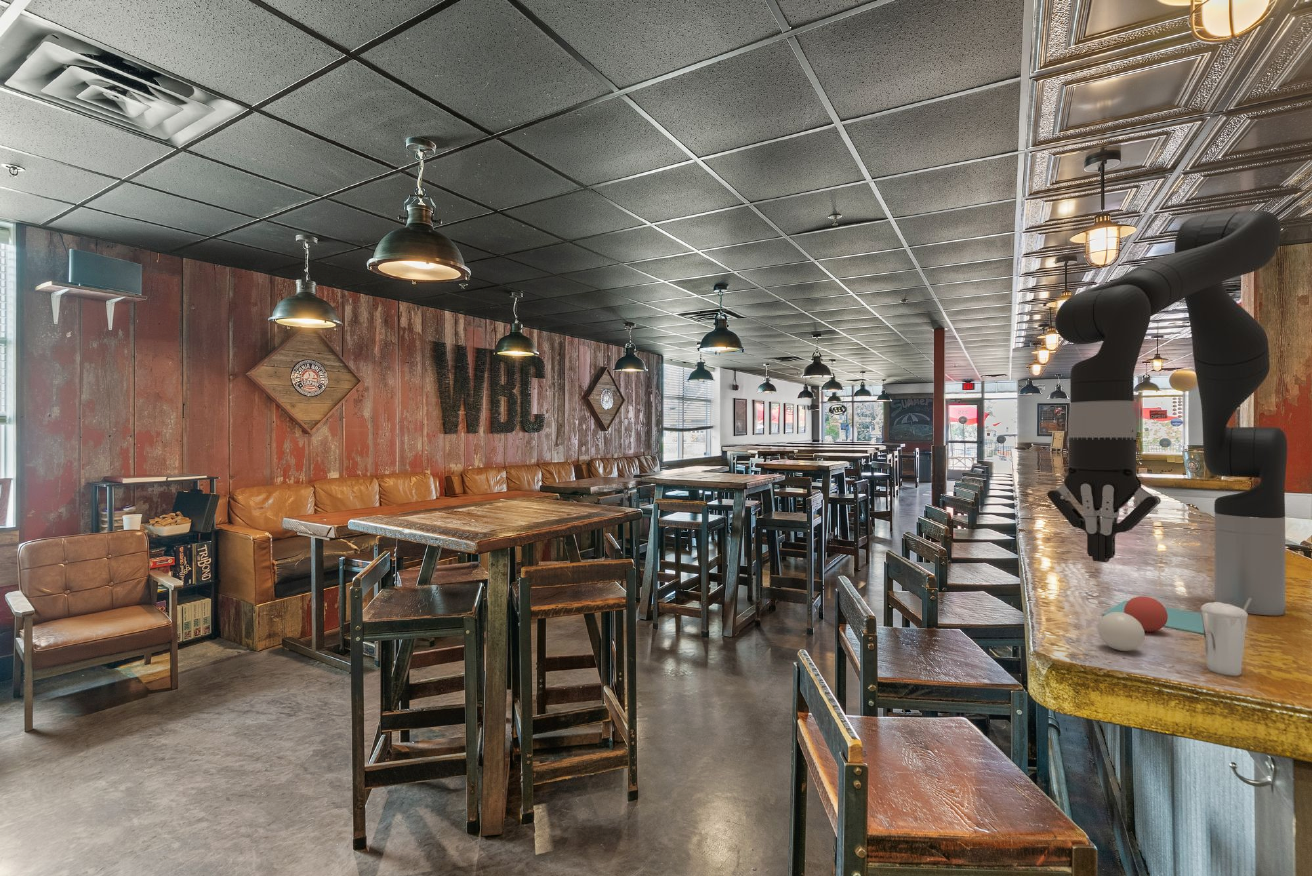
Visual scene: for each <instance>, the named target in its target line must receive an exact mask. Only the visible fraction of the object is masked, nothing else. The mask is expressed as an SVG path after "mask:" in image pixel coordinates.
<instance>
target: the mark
mask: <svg viewBox="0 0 1312 876" xmlns="http://www.w3.org/2000/svg"><path fill="white" fill-rule="evenodd" d="M1128 601H1129V600H1123V601H1121V602H1119V603H1118V604H1117V605H1114V606H1113V607H1111V608H1110V609H1108V610H1106V611H1105V612H1103V613H1102V616H1104V615H1106V614H1108V613H1112V612H1122V613H1124V608H1125V605H1126V603H1127V602H1128ZM1164 608H1165V609H1166V611H1167V614H1168V620H1167V623H1166V624H1165V626H1164V627H1163V628H1169V629H1173V630H1174V629H1175V630H1178V631H1179V630H1181V631H1185V632H1191V633H1196V634H1199V635H1200V634H1201V635H1204V629H1203V622H1202V614H1201V612H1196V611H1191V610H1190V611H1189V610H1184V609H1177V608H1171V607H1166V606H1164Z"/></svg>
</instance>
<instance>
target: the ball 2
mask: <svg viewBox="0 0 1312 876" xmlns="http://www.w3.org/2000/svg"><path fill="white" fill-rule="evenodd" d="M1127 601H1128V602H1127V603H1126V605H1125V608H1124V613H1126V614H1128V615H1131V616H1132V617H1134V618H1135V619H1137V620H1138V621H1139V622H1140V624H1141V625H1142V627H1143V629H1144V632H1156V631H1159V630H1161V629H1163V628H1165V627H1164V626H1165V624H1166V623H1167V620H1168V614H1167V611H1166V609H1165V608H1164V607H1165V606H1164V605H1163V604H1162V603H1161V602H1160V601H1158V600H1157V599H1155V598H1152V597H1150V596H1144V595H1143V596H1142V595H1141V596H1140V595H1139V596H1136V597H1132V598H1130V600H1127Z"/></svg>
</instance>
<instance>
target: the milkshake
mask: <svg viewBox="0 0 1312 876" xmlns="http://www.w3.org/2000/svg"><path fill="white" fill-rule="evenodd" d="M1251 599H1252V598H1249V599H1248V601H1247V603H1246V605H1245V606H1244V608H1243V609H1241V608H1239V607H1236V606H1233V605H1230V604H1224V603H1221V602H1214V601H1213V602H1210V601H1209V602H1205V603H1204V604H1203V605H1202V606H1201V607H1200V613H1201V614H1202V622H1203V629H1204V634H1203V637H1204V638H1203V639H1204V648H1205V649H1204V650H1205V660H1206V667H1207V669H1208V670H1209V671H1211V672H1212V673H1213V672H1214V673H1216V674H1219V675H1223V676H1224V675H1225V676H1232V677H1238V676H1240V675H1242V668H1243V667H1242V666H1243V655H1244V648H1245V647H1244V645H1245V636H1246V629H1247V620H1248V617H1249V615H1248V614H1249V613H1246V612H1245V611H1246V609H1247V607H1248V605H1249V603H1250V601H1251Z"/></svg>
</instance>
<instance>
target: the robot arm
mask: <svg viewBox="0 0 1312 876" xmlns="http://www.w3.org/2000/svg"><path fill="white" fill-rule="evenodd" d="M1281 236H1282V229H1281V223H1280V219H1279V218H1278V217H1277V216H1276V215H1275V214H1274V213H1273V212H1270V211H1266V210H1241V211H1240V210H1239V211H1230V212H1229V211H1228V212H1221V213H1211V214H1202V215H1197V216H1193V217H1190V218H1188V219H1187V220H1185V221H1184V222H1183V223H1182V224H1181V226H1180V227H1179V229H1178V231H1177V234H1176V237H1175V242H1174V253H1170V254H1166V255H1164V256H1161V257H1157V258H1154V259H1151V260H1149V261H1147V262H1144V263H1143V264H1141V265H1139V266H1137V267H1135V268H1133V269H1131V270H1129V271H1127V272H1126V273H1124V274H1123V275H1121V276H1119V277H1118V278H1115V279H1114V280H1110V281H1108V282H1105V283H1102V284H1099V285H1096V286H1093V287H1090V288H1088V289H1086V290H1083V291H1080V292H1079V293H1076V294H1074V295H1072V296H1070V297H1069V298H1067V299H1066V300H1065V301H1064V302H1063V303H1062V304H1061V305H1060V307H1059V308H1058V309H1057V313H1056V314H1055V319H1054V321H1055V322H1054V325H1055V329H1056V331H1057V333H1058V335H1059V336H1060V337H1061V338H1062V339H1063V340H1065V341H1067V342H1068V343H1071V344H1074V345H1075V344H1076V345H1086V344H1087V345H1089V344H1094V343H1101V342H1102V343H1101V346H1100V348H1099V350H1098V352H1097V353H1096V354H1095V355H1093V356H1091V357H1088V358H1087V359H1083V360H1080V361H1079V362H1076V363H1074V364H1073V366H1072V368H1071V370H1070V375H1069V376H1070V381H1069V382H1070V386H1069V387H1070V393H1069V394H1070V396H1069V397H1070V401H1069V403H1070V405H1069V406H1070V407H1069V411H1068V412H1069V413H1068V417H1067V418H1068V421H1067V423H1068V424H1067V433H1068V434H1067V442H1068V443H1067V444H1068V445H1067V446H1068V447H1067V454H1068V455H1067V456H1068V459H1067V461H1068V462H1067V464H1068V465H1067V467H1068V468H1067V471H1068V472H1067V475H1066V477H1065V478H1064V480H1063V483H1064V484H1062V485H1060V486H1059V487H1058V488H1055V490H1049V491H1048V492H1047V493H1046V496H1047V499H1049V500H1050V501H1051V502H1052V503H1053V505H1054V506H1055V507H1056V508H1057V510H1058V511H1059V512H1060V514H1062V515H1063V517H1065V519H1066V520H1067V521H1068V522H1069V524H1070V525H1071V526H1072V527H1073V528H1075V529H1076V528H1078V529H1080V530H1082V531H1084V532H1085V533H1086V535H1087V536H1086V537H1087V539H1086V542H1087V543H1086V544H1087V546H1086V552H1087V555H1088V557H1092V561H1093V562H1098V563H1108V562H1110V560H1111V559H1113V558H1115V556H1116V535H1117V534H1119V533H1126V532H1129V531H1131V530H1133V529H1134V528H1135V527H1136V526H1137V525H1138V524H1139V523H1140V522H1141V521H1142V520H1144V518H1145V517H1147V515H1149V514H1150V513H1151V512H1152V511H1153V510H1154V509H1155V508H1157V506H1158V505H1159V504H1161V501H1162V500H1161V498H1160V497H1159V496H1158V495H1153V494H1152V493H1150V492H1149V491H1147V490H1145V489H1144V488H1142V483H1141V479H1139V477H1138V475H1137V435H1138V426H1137V416H1136V415H1137V414H1136V410H1135V401H1134V400H1135V399H1134V395H1135V393H1134V392H1135V391H1134V390H1135V389H1134V385H1135V384H1134V381H1135V379H1134V377H1135V375H1134V374H1135V370H1136V366H1137V362H1138V359H1139V357H1140V353H1141V349H1142V346H1143V343H1144V340H1145V337H1146V335H1147V332H1148V328H1149V325H1150V323H1151V317H1153V316H1155V315H1157V314H1158V313H1160V312H1162V311H1163V310H1165V309H1167V308H1169V307H1170V306H1172V305H1173V304H1176V303H1178V302H1179V301H1180V300H1183V299H1184V301H1185V304H1186V309H1187V313H1188V319H1189V324H1190V325H1189V326H1190V332H1191V342H1192V344H1191V345H1192V356H1193V362H1194V371H1195V376H1196V382H1197V387H1198V393H1199V398H1200V407H1201V417H1202V418H1201V419H1202V420H1201V421H1202V422H1201V423H1202V448H1203V457H1204V458H1203V459H1204V463H1205V467H1206V468H1207V470H1208V472H1209V473H1210V474H1212V475H1214V476H1217V477H1225V478H1227V477H1228V478H1254V479H1255V478H1256V479H1259V481H1260V482H1259V483H1258V484H1257V485H1255V486H1254V487H1252V488H1250V489H1248V490H1245V491H1241V492H1238V493H1232V494H1229V495H1227V494H1226V495H1224V496H1223V495H1222V496H1219V497H1217V498H1216V499H1215V500H1214V504H1213V506H1214V510H1213V512H1214V581H1213V582H1214V590H1213V591H1214V595H1213V597H1214V598H1213V599H1214V601H1213V602H1221V603H1224V604H1230V605H1233V606H1236V607H1239V608H1241V609H1243V608H1244V606H1245V605H1246V603H1247V601H1248V599H1249V598H1252V599H1251V601H1250V603H1249V605H1248V607H1247V609H1246V611H1245V612H1246V613H1247V614H1251V615H1252V614H1253V615H1262V616H1263V615H1264V616H1284V615H1286V502H1285V501H1286V500H1285V499H1286V498H1285V497H1286V496H1285V495H1286V494H1285V492H1286V491H1285V489H1286V472H1287V461H1288V460H1287V459H1288V439H1287V435H1286V433H1285V432H1284V430H1282V429H1281V428H1279V427H1275V426H1240V427H1239V426H1237V427H1236V426H1234V427H1232V426H1231V427H1229V426H1227V425H1228V423H1229V421H1230V419H1231V418H1232V417H1233V415H1234V413H1235V412H1236V411H1237V410H1238V409H1239V407H1241V405H1242V404H1243V403H1244V402H1245V401H1246V400H1247V399H1248V398H1249V397H1251V395H1252V394H1254V392H1255V391H1256V390H1257V389H1258V388H1259V387H1260V386H1261V385H1262V384H1263V382H1264V381H1265V380H1266V379H1267V376H1268V375H1269V372H1270V364H1271V363H1270V351H1269V339H1268V336H1267V333H1266V331H1265V330H1264V328H1263V327H1262V326H1261V325H1260V323H1259V322H1258V321H1257V320H1256V319H1255V318H1254V317H1253V316H1252V315H1251V313H1249V312H1248V311H1247V310H1246V309H1245V308H1244V307H1242V306H1241V305H1240V304H1239V303H1238V302H1237V301H1235V299H1233V297H1232V296H1231V295H1230V294H1229V292H1228V291H1227V289H1226V288H1225V286H1224V284H1223V282H1226V281H1228V280H1231V279H1234V278H1237V277H1241V276H1244V275H1247V274H1250V273H1253V272H1256V271H1258V270H1260V269H1262V268H1263V267H1265V266H1266V265H1268V263H1269V262H1270V261H1271V260H1272V259H1273V257H1274V256H1275V254H1276V252H1277V251H1278V248H1279V247H1280V246H1279V245H1280V242H1281ZM1070 494H1071V495H1070ZM1072 496H1073V497H1074V499H1075V500H1076V501H1077V502H1078V504H1079V505H1081V506H1082V512H1083V513H1082V514H1083V515H1082V514H1081V512H1080V511H1079V510H1078V509H1077V508H1076V507H1075V505H1073V503H1072V502H1071V501H1070V500H1072V499H1071V498H1072ZM1134 496H1135V499H1134V500H1133V504H1135V506H1136V507H1135V508H1134V509H1133V510H1131V512H1129V514H1127V516H1125V517H1124V518H1123V519H1122V520H1121V521H1120V522H1119V516H1120V509H1121V508H1123V507H1124V506H1125V505H1127V503H1128V502H1130V500H1131V499H1132V498H1133V497H1134Z"/></svg>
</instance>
